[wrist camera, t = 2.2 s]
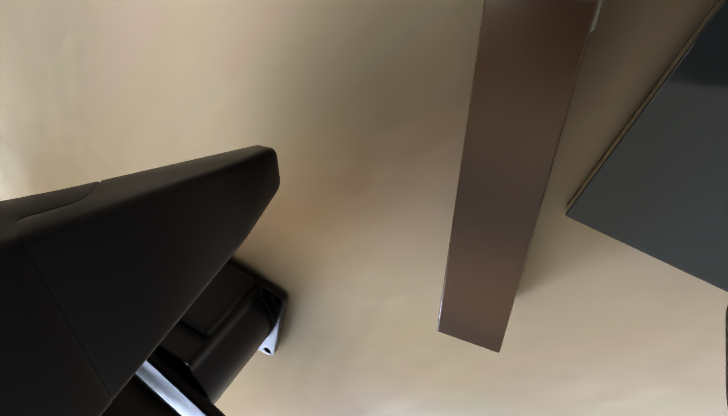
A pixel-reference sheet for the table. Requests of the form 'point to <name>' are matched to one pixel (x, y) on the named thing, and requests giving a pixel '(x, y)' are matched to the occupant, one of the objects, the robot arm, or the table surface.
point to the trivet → (672, 164)
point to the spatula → (509, 155)
